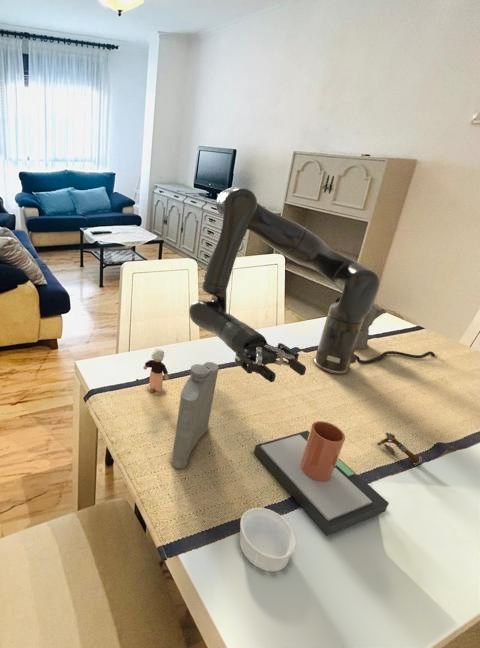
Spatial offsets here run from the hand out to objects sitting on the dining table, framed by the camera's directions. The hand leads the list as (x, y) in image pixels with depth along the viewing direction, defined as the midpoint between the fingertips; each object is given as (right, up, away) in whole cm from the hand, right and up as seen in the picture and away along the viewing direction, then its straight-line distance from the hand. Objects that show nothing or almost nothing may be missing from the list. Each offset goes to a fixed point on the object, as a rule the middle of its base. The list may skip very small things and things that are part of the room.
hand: (289, 375), depth 84 cm
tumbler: (+3, -18, -6) cm, 19 cm away
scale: (+3, -21, -5) cm, 21 cm away
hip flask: (-22, -16, +3) cm, 27 cm away
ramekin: (-13, -26, -19) cm, 34 cm away
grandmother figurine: (-28, -9, +20) cm, 36 cm away
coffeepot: (+44, 0, +52) cm, 68 cm away
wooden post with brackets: (+26, -19, +3) cm, 32 cm away
